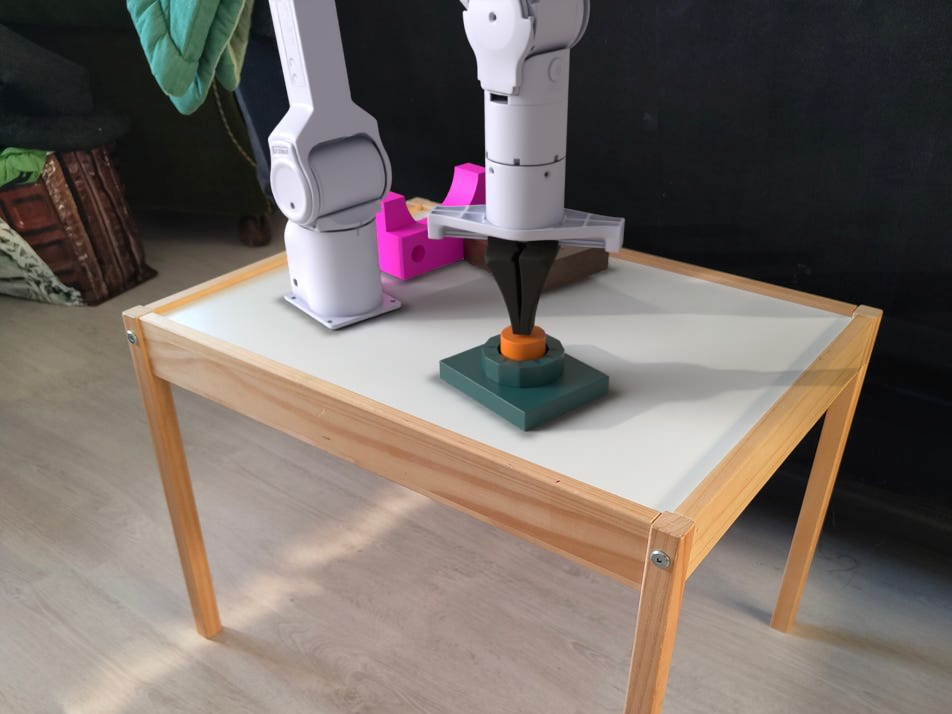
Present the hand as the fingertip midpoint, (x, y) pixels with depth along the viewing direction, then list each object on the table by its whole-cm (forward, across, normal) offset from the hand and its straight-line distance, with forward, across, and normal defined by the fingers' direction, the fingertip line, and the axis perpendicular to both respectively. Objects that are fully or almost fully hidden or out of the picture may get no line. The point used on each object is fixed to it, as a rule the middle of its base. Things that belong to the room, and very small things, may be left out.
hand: (523, 329), depth 71 cm
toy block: (+5, +15, -27) cm, 31 cm away
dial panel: (+5, +4, -26) cm, 27 cm away
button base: (+5, 0, 0) cm, 5 cm away
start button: (+2, 0, 0) cm, 2 cm away
